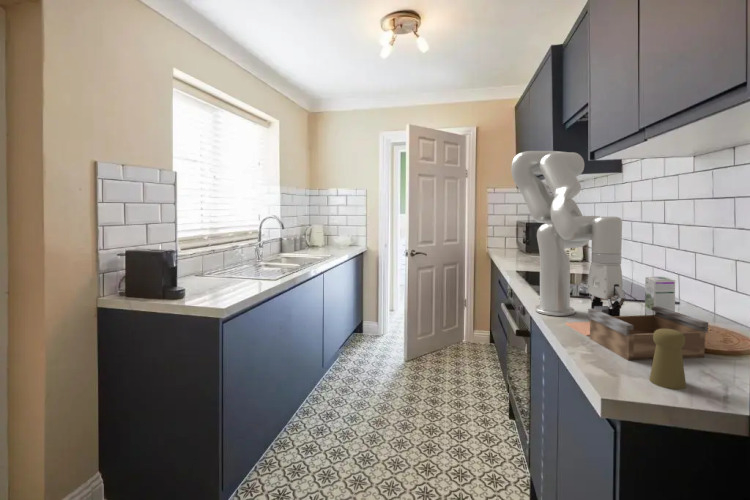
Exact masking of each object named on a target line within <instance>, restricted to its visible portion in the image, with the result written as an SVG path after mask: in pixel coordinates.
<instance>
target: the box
mask: <svg viewBox="0 0 750 500" xmlns="http://www.w3.org/2000/svg"><path fill="white" fill-rule="evenodd" d="M652 310H653V311H655V315H645V314H644V315H642V314H641V315H622V316H621V315H620V316H613V317H612V316H610V315H608V314H605V313H603V312H601V311H598V310H596V309H591V308H588V309H587V317H588V319H589V322H590V336H589V340H592V341H593V342H595V343H597V344H599V346H600V345H601V347H603V348H604V347H605V349H607V350H609V351H611V352H612V353H615V354H616V355H618V356H619V357H622V358H623V359H625V360H627V361H647V360H649V361H650V360H653V359H654V354H655V349H656V344H655V342H654V340H653V335H654V332H655V331H656V330H658V329H672V330H677V331H679V332H681V333H682V334H683V335H684V336H685V344H684V346H683V347H682V348H681V349H682V357H683V359H694V358H695V359H696V358H697V359H698V358H699V359H700V358H705V351H706V350H705V347H706V346H705V345H706V333H708V332H709V322H708V321H706V320H701V319H698V318H696V317H693V316H689V315H686V314H683V313H680V312H676V311H675V312H674V311H671V310H668V309H665V308H661V307H658V306H652Z"/></svg>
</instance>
